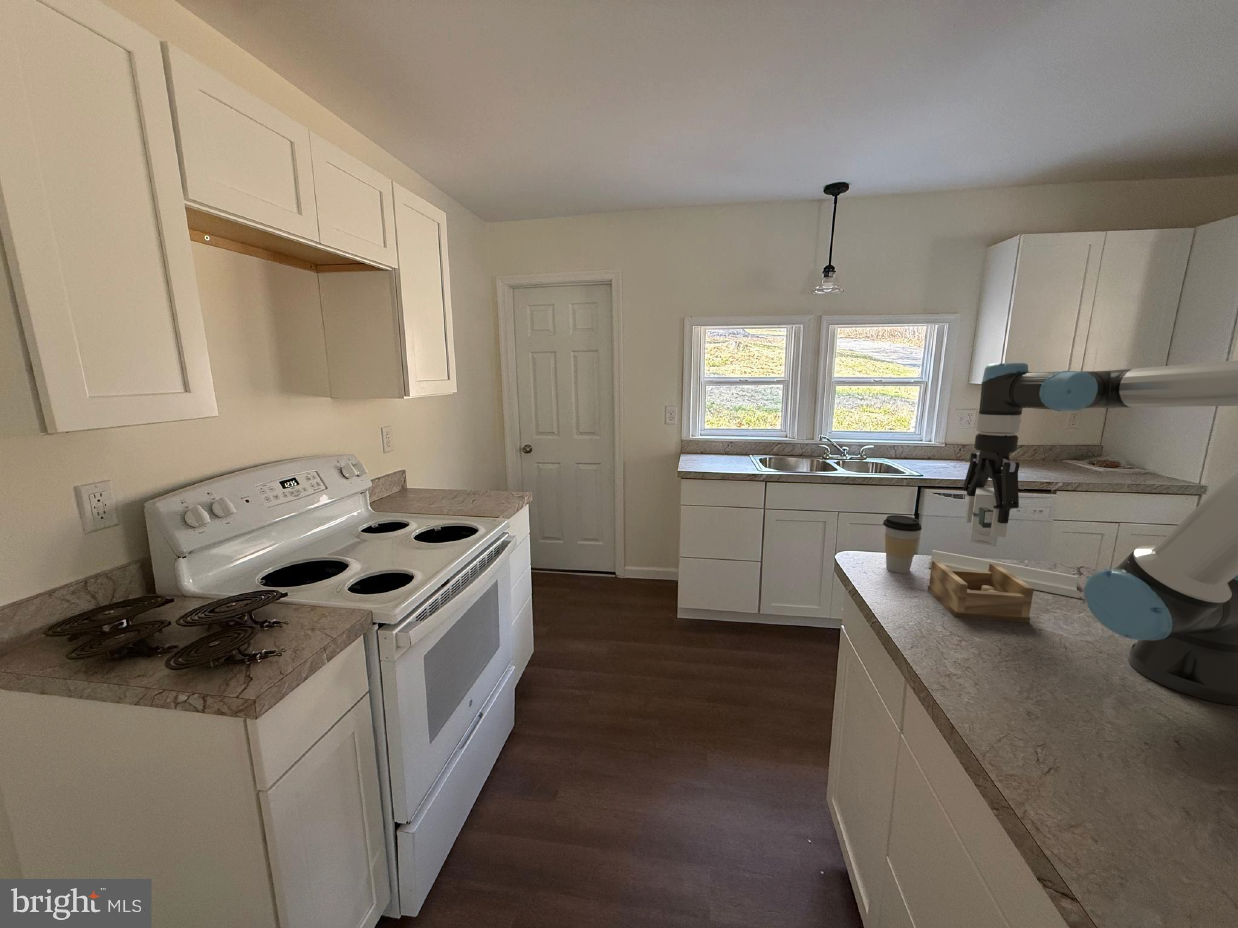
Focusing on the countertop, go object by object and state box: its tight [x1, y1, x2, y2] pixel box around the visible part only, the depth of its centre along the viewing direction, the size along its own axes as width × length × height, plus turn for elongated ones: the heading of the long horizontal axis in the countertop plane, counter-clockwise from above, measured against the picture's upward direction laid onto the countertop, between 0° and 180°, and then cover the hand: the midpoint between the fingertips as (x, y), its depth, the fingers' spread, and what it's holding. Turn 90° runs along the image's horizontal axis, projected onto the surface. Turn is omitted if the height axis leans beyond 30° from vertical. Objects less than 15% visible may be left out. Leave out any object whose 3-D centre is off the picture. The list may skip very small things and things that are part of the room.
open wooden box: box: [927, 560, 1034, 624], centre depth 112 cm, size 14×15×8 cm
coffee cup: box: [882, 514, 923, 574], centre depth 133 cm, size 9×9×15 cm
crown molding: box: [928, 549, 1081, 599], centre depth 129 cm, size 31×12×4 cm, turn 52°
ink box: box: [969, 487, 998, 547], centre depth 108 cm, size 9×5×12 cm, turn 142°
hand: (984, 528), depth 109 cm, fingers closed on ink box, 9 cm apart
